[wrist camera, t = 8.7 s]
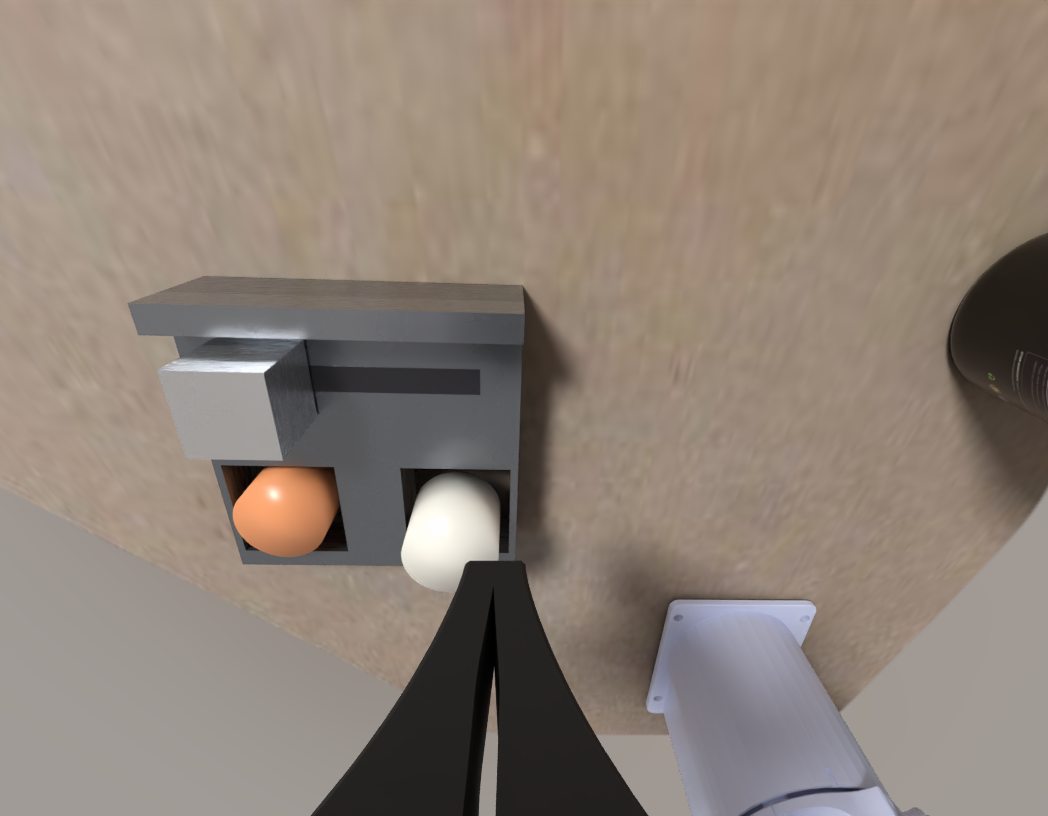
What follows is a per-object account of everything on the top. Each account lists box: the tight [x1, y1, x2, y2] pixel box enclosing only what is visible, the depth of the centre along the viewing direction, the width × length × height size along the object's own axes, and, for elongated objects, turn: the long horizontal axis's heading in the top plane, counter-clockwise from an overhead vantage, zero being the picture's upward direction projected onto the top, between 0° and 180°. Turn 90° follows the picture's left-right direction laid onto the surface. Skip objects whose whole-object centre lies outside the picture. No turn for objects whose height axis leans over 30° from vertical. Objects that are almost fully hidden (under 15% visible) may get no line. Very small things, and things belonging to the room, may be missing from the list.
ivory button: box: [401, 472, 500, 593], centre depth 19 cm, size 4×4×3 cm
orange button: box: [233, 466, 341, 557], centre depth 21 cm, size 4×4×3 cm
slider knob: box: [157, 337, 317, 461], centre depth 16 cm, size 3×3×3 cm
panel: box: [128, 276, 525, 566], centre depth 19 cm, size 12×12×4 cm
